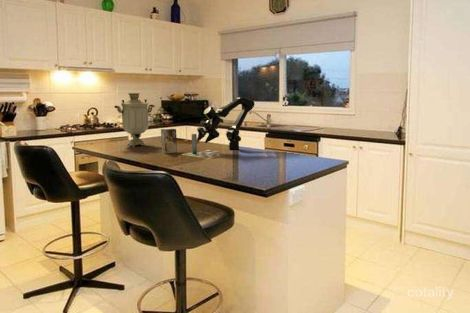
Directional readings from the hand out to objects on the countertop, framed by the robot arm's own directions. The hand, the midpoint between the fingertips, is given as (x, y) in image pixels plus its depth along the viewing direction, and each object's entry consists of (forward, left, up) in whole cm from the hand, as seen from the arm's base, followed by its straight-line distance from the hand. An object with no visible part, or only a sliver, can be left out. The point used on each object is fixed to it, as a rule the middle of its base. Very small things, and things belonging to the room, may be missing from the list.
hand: (201, 141), depth 263 cm
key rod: (+4, +3, -7) cm, 9 cm away
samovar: (+52, -49, -9) cm, 72 cm away
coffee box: (+22, -12, -9) cm, 27 cm away
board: (-1, +8, -8) cm, 11 cm away
